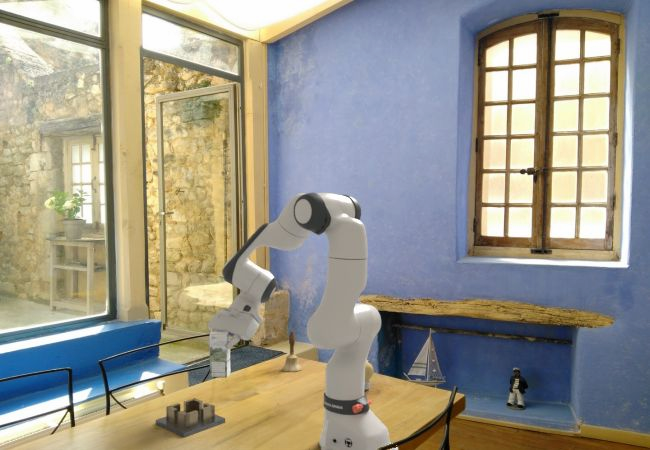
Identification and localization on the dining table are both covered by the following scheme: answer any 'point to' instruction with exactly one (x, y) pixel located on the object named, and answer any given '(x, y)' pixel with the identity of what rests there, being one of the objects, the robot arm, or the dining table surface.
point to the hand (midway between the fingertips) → (218, 345)
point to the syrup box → (219, 354)
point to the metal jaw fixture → (190, 417)
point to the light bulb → (368, 375)
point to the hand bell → (291, 357)
